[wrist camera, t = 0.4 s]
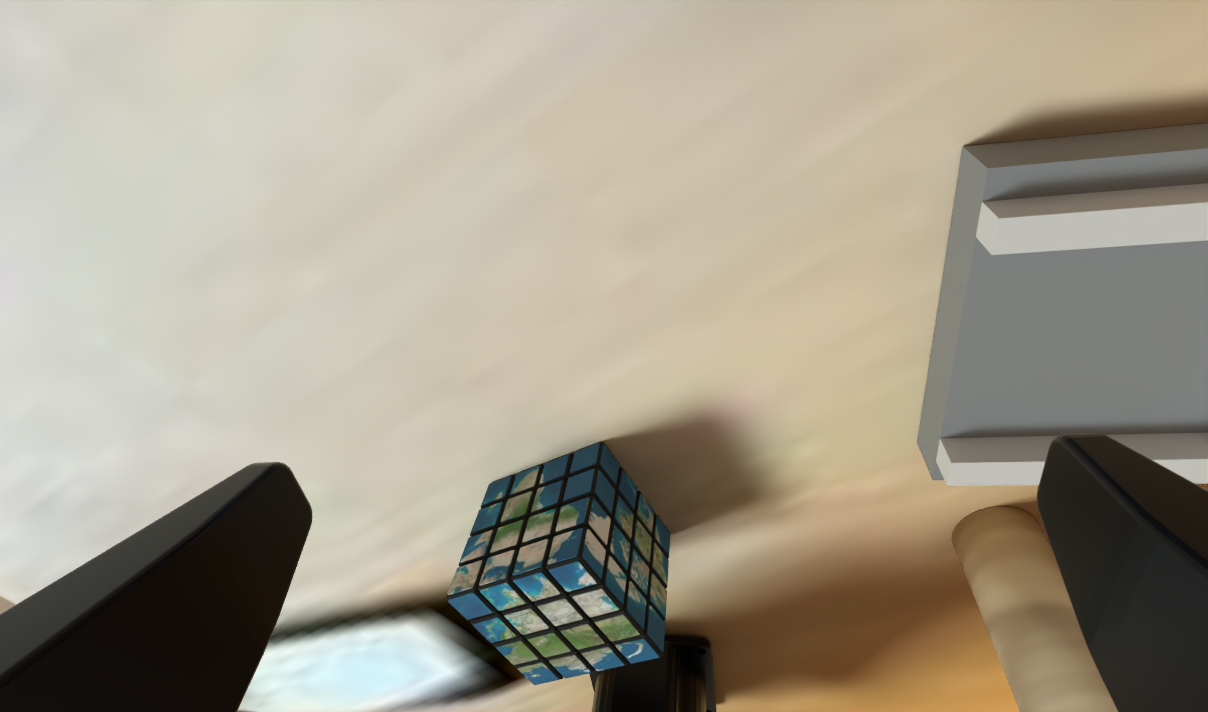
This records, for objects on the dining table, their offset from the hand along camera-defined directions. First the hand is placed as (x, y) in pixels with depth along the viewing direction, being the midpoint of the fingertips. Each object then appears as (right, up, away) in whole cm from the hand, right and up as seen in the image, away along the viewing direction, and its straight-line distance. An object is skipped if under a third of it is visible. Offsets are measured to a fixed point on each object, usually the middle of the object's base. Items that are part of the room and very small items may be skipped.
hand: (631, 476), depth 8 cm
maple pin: (+16, -6, +19) cm, 25 cm away
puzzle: (-1, -5, +21) cm, 22 cm away
